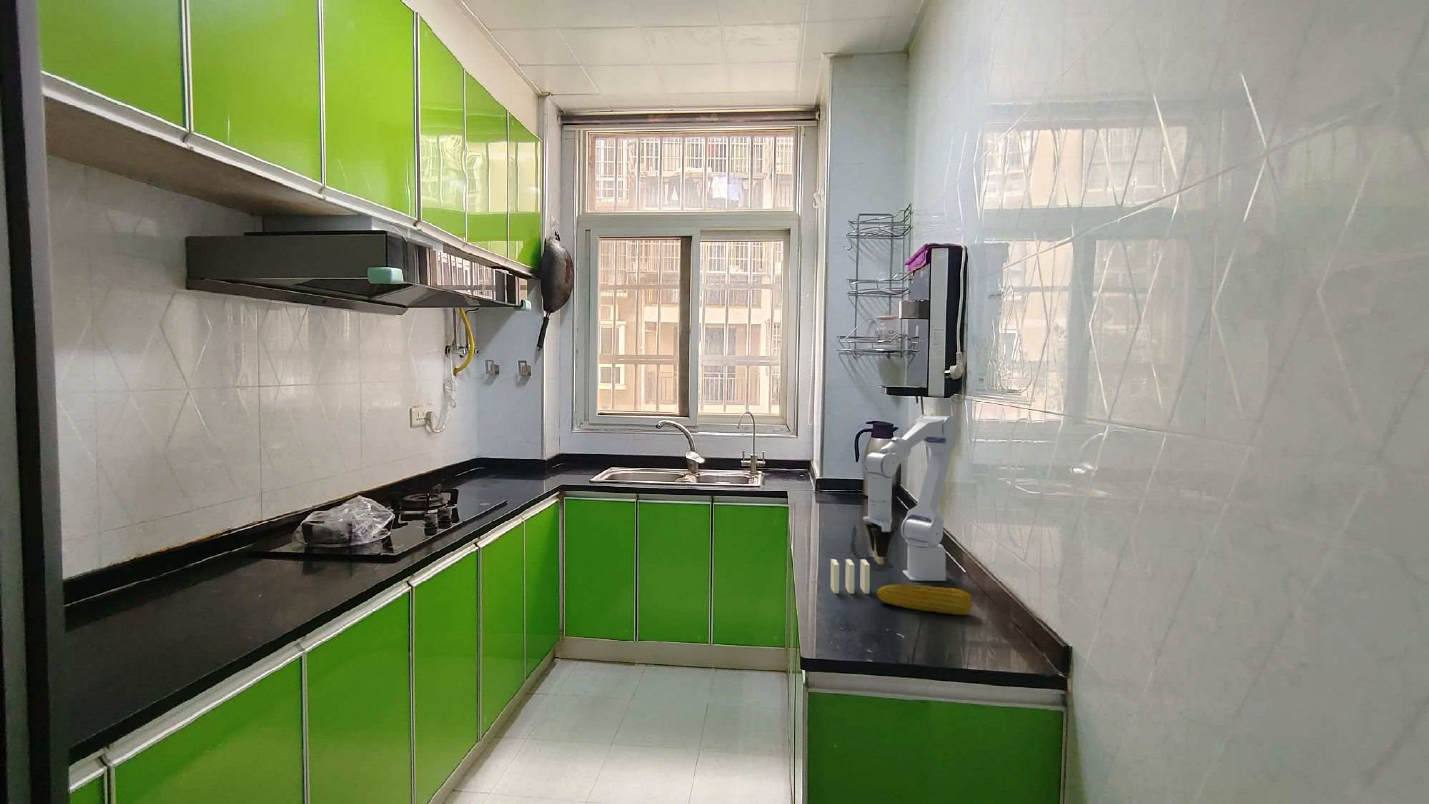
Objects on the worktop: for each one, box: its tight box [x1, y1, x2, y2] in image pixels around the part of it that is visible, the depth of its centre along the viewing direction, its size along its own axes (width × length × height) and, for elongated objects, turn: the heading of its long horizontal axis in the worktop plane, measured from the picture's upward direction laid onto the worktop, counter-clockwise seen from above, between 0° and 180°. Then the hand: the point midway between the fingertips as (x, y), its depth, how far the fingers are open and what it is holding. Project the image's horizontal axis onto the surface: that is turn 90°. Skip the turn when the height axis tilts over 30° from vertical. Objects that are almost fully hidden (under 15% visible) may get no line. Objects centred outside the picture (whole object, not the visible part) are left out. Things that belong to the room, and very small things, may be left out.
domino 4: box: [873, 539, 885, 565], centre depth 169 cm, size 1×5×7 cm, turn 179°
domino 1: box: [830, 558, 840, 594], centre depth 168 cm, size 1×5×7 cm, turn 0°
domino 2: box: [845, 558, 855, 594], centre depth 168 cm, size 1×5×7 cm, turn 0°
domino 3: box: [859, 558, 871, 595], centre depth 168 cm, size 1×5×7 cm, turn 0°
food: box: [876, 583, 973, 616], centre depth 154 cm, size 21×6×6 cm, turn 65°
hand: (879, 553), depth 169 cm, fingers closed on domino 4, 5 cm apart
